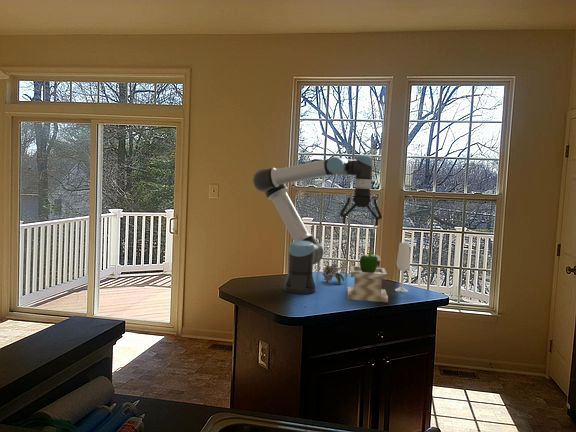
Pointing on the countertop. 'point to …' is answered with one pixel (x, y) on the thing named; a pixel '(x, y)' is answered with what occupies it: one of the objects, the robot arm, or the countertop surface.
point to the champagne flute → (403, 262)
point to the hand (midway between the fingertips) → (359, 231)
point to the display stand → (368, 285)
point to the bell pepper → (368, 263)
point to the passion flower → (332, 273)
